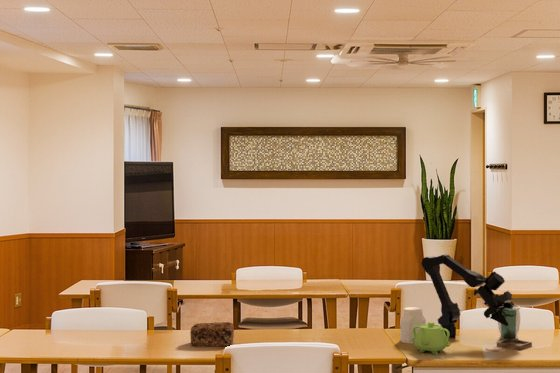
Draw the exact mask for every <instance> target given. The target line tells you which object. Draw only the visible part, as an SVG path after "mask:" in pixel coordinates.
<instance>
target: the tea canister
mask: <svg viewBox="0 0 560 373" xmlns="http://www.w3.org/2000/svg"><path fill="white" fill-rule="evenodd" d="M502 315H503V317H504V318H505V320H506V321H507V323H508V326H505V325H503V324H501V333H500V335H501V338H500V339H502V338H503V340H506V339H514V340H517V339H516V310H515V309H502Z"/></svg>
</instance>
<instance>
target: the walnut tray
mask: <svg viewBox="0 0 560 373" xmlns="http://www.w3.org/2000/svg"><path fill="white" fill-rule="evenodd" d="M532 346H533V342H532V341H525V340H521V339H520V340H519V339H503V340H500V341H498V342H496V347H498V348H504V349H512V350H516V351H521V350H524V349H528V348H530V347H531V348H532Z"/></svg>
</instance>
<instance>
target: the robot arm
mask: <svg viewBox="0 0 560 373" xmlns="http://www.w3.org/2000/svg"><path fill="white" fill-rule="evenodd" d="M441 265H445V266H447V267H448V268H449V269H450V270H452V271H453V272H454V273H456V274H457V275H458V276H460V277H461V278H462V279H463V281H464V282H465V283H466V284H467V285H468V286H469V287H471V288H475V289H473V296H474V297H475V296H480V298H481V299H482V301H483V302H484V303H483V305H484V306H487V307H488V308H486V309H485V311H483V316H484V318H486V319H488V318H489V319H490V320H491V319H492V320H494V321H495V322H497V323H498V322H500V323H501V324H503V325H505V326H508V323H507V321H506V320H505V318H504V317H503V315H502V309H512V308H513V306H514V305H515V303H514V302H513V301H511V300H513V297H512V296H513V294H512V293H511V292H510V291H509V290H507V291H505V292H503V293H502V294H500V295H499V294H498V293H497V294H495V293H494V291H497V290H498V289H499V288H500V287H501V286H503V284H504V283H505V281H506V280H505V278H504V277H503V276H502V275H501V274H499V273H497V272H496V271H492V272H491V273H490V275H488V276H487V277H484V276H483V275H482V274H480V273H479V272H476V271H473V270H470V269H469V268H467V267H466V266H464V265H463V264H461V263H460V262H459V261H457V260H455V259H454V258H453V257H451V256H450V254H441V255H438V256H434V255H433V256H425V257H423V258H422V260H421V266H422V269H423V270H424V272H425V273H426V274H427V275H429V277H430V280H431V282H432V284H433V287H434V290H435V292H436V294H437V297H438V299H439V302H440V303H441V304H440V305H441V306H440V308H441V309H440V312H441V315H440V317H438V318H437V323H438V325H439V326H442V327H443V329H447V330H448V331H449V333H450V336H449V339H450V338H455V339H456V336H457V327H456V325H455V324H456V323H457V322H458V319H459V318H460V316H461V309H460V308H459V305H458V303H457V302H453V301H452V299H451V297H450V295H449V293H448V290H447V287H446V284H445V283H444V280H443V276H442V275H441ZM477 287H478V288H477ZM444 332H445V334H446V337H447V332H446V331H444Z"/></svg>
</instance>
